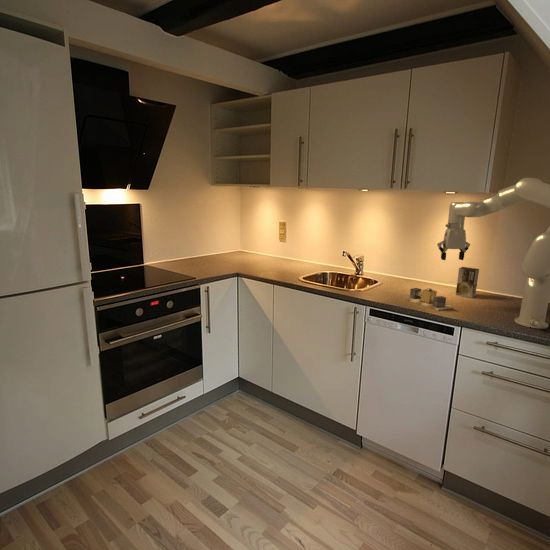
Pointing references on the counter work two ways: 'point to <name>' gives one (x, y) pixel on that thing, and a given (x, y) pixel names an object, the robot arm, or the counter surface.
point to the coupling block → (428, 295)
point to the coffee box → (467, 282)
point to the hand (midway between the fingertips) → (452, 259)
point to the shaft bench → (436, 305)
